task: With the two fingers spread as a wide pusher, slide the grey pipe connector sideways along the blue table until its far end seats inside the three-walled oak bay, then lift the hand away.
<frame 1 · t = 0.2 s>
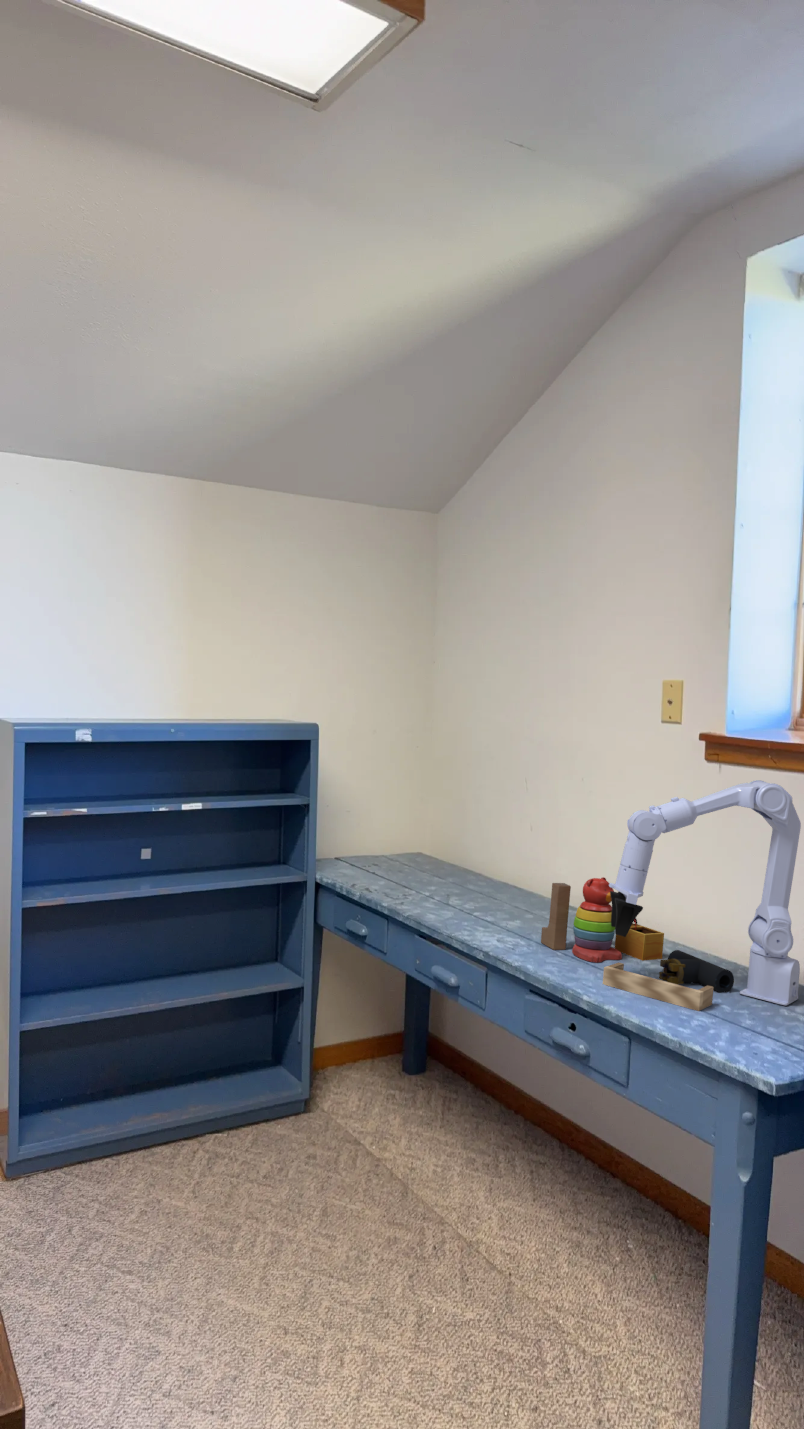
hand: (618, 931, 196), 11 cm above the table, tool pointing down, fingers open, 7 cm apart
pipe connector: (686, 984, 200), on the table
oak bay: (656, 994, 190), on the table
wooden block: (552, 947, 222), on the table
stacking bear: (592, 956, 217), on the table
spider toy trap: (629, 952, 224), on the table
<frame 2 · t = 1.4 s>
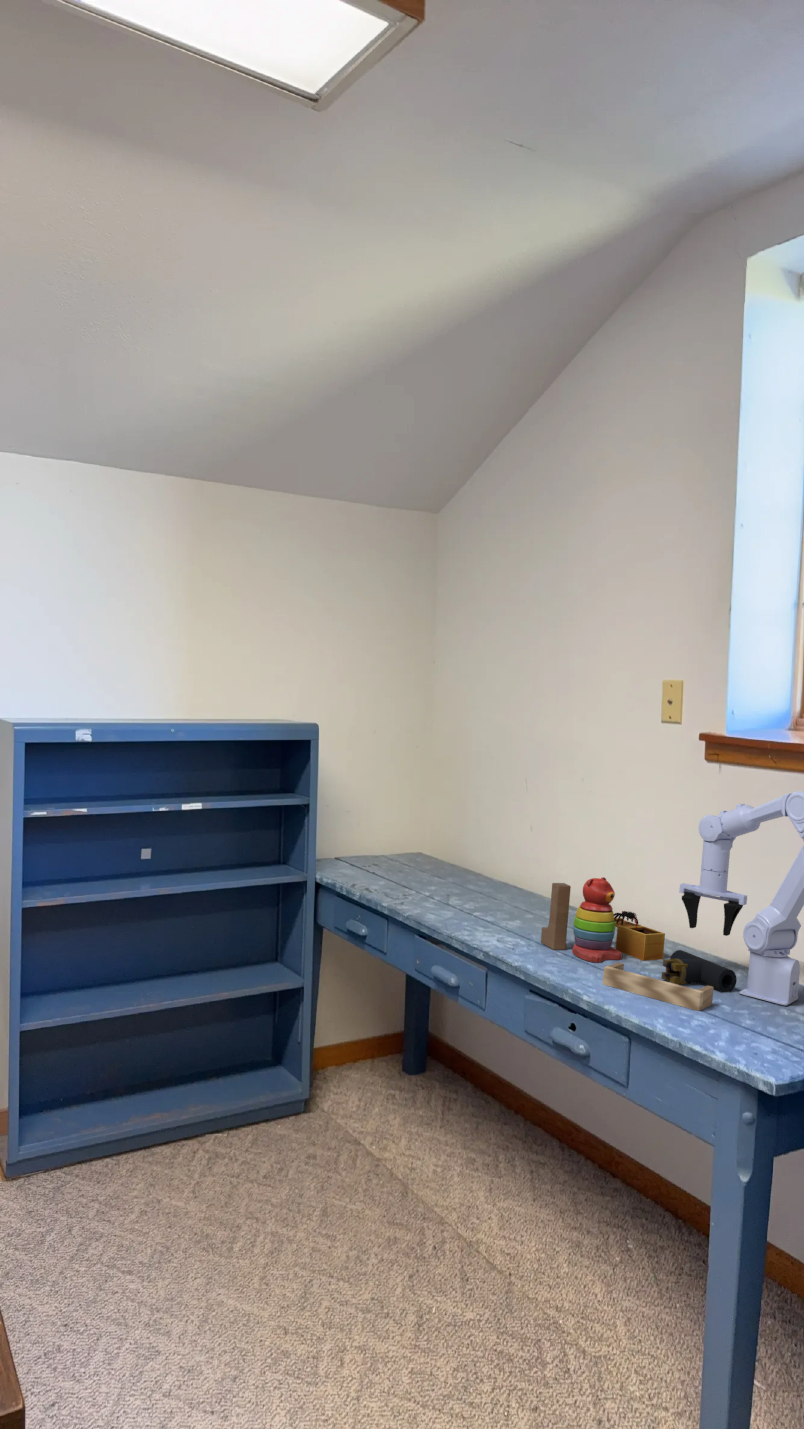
hand: (709, 931, 209), 9 cm above the table, tool pointing down, fingers open, 7 cm apart
nothing on the table moved.
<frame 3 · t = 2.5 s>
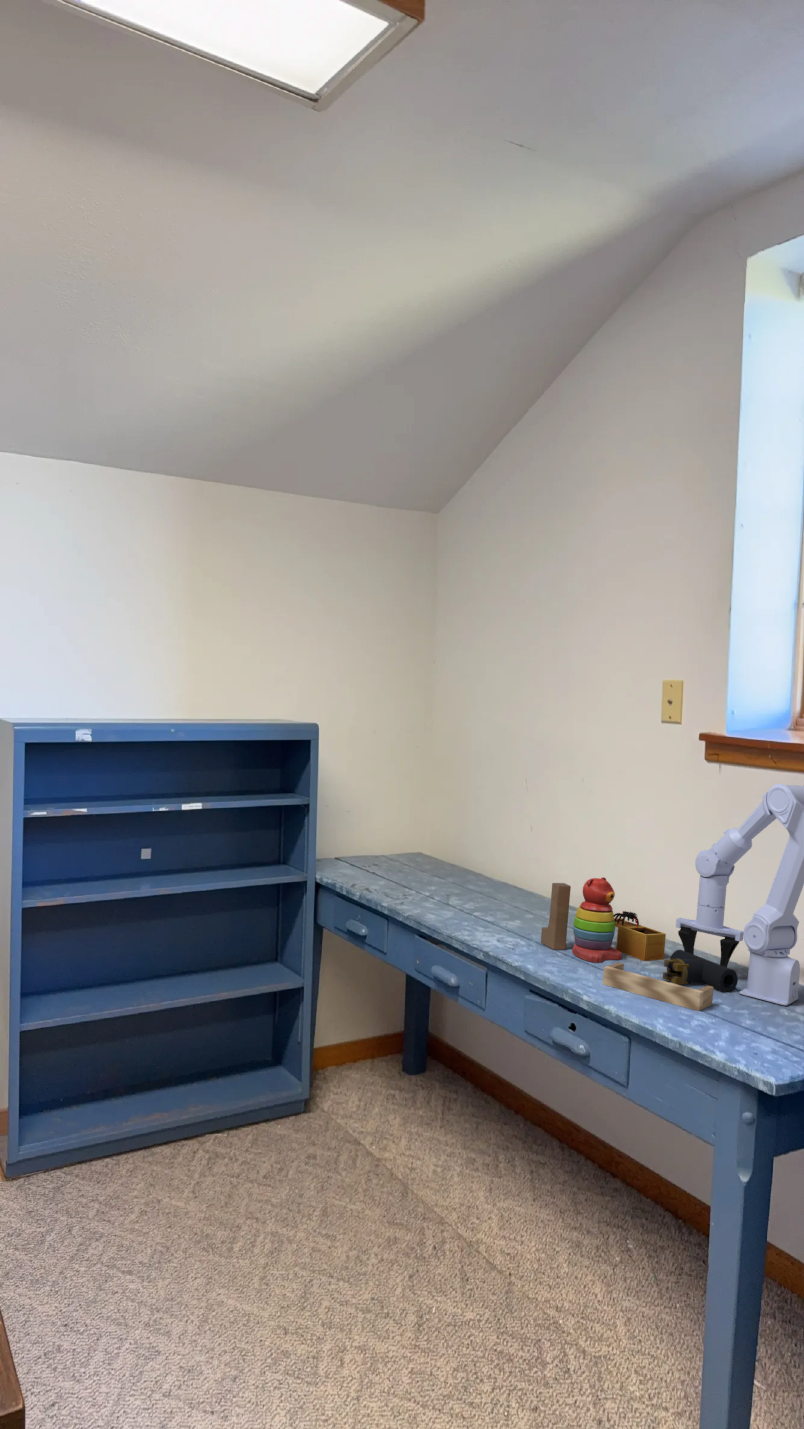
hand: (705, 966, 208), 2 cm above the table, tool pointing down, fingers open, 7 cm apart
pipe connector: (689, 984, 201), on the table, touching gripper
everything else where it was.
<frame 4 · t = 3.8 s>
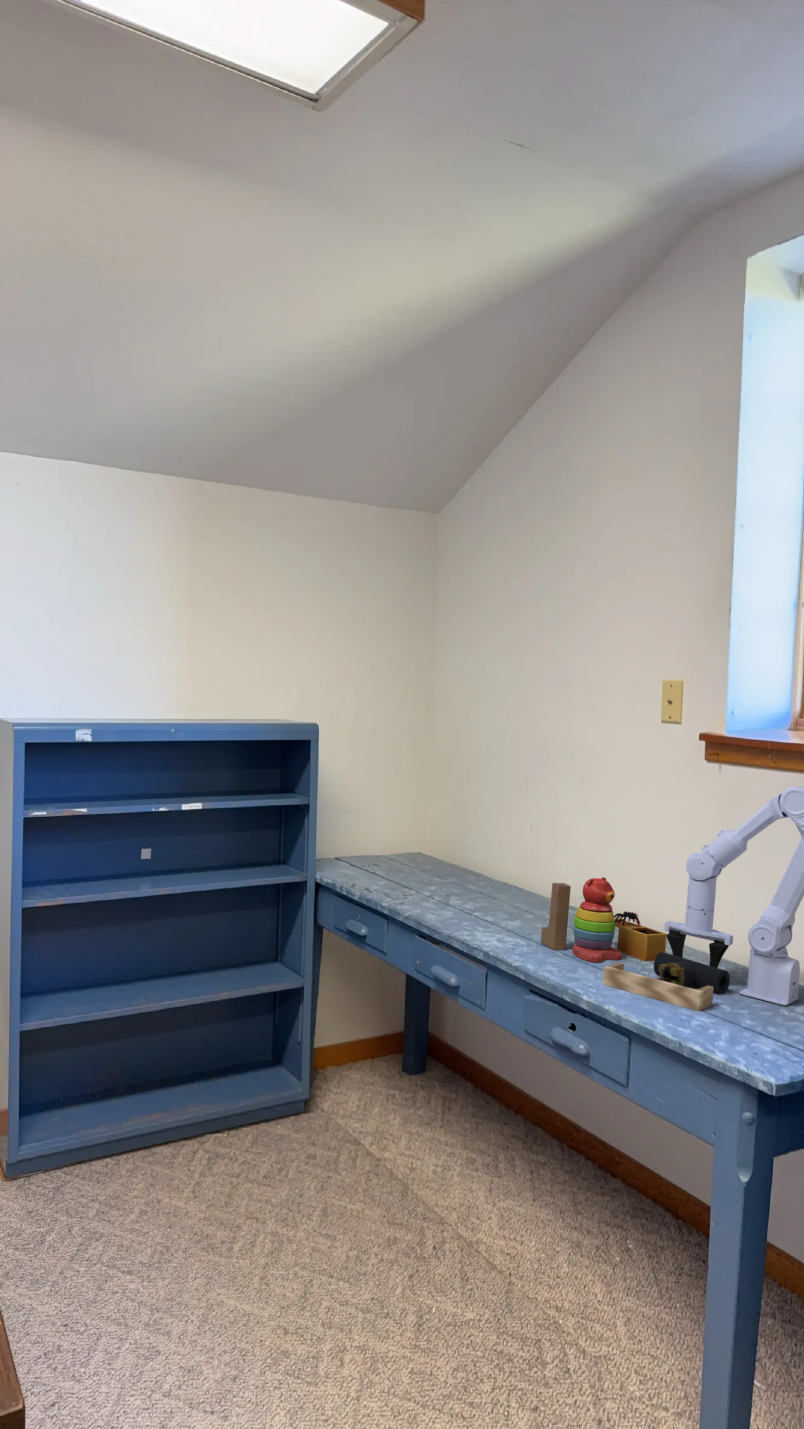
hand: (694, 971, 204), 2 cm above the table, tool pointing down, fingers open, 7 cm apart
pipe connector: (681, 987, 197), on the table, touching gripper
everything else where it was.
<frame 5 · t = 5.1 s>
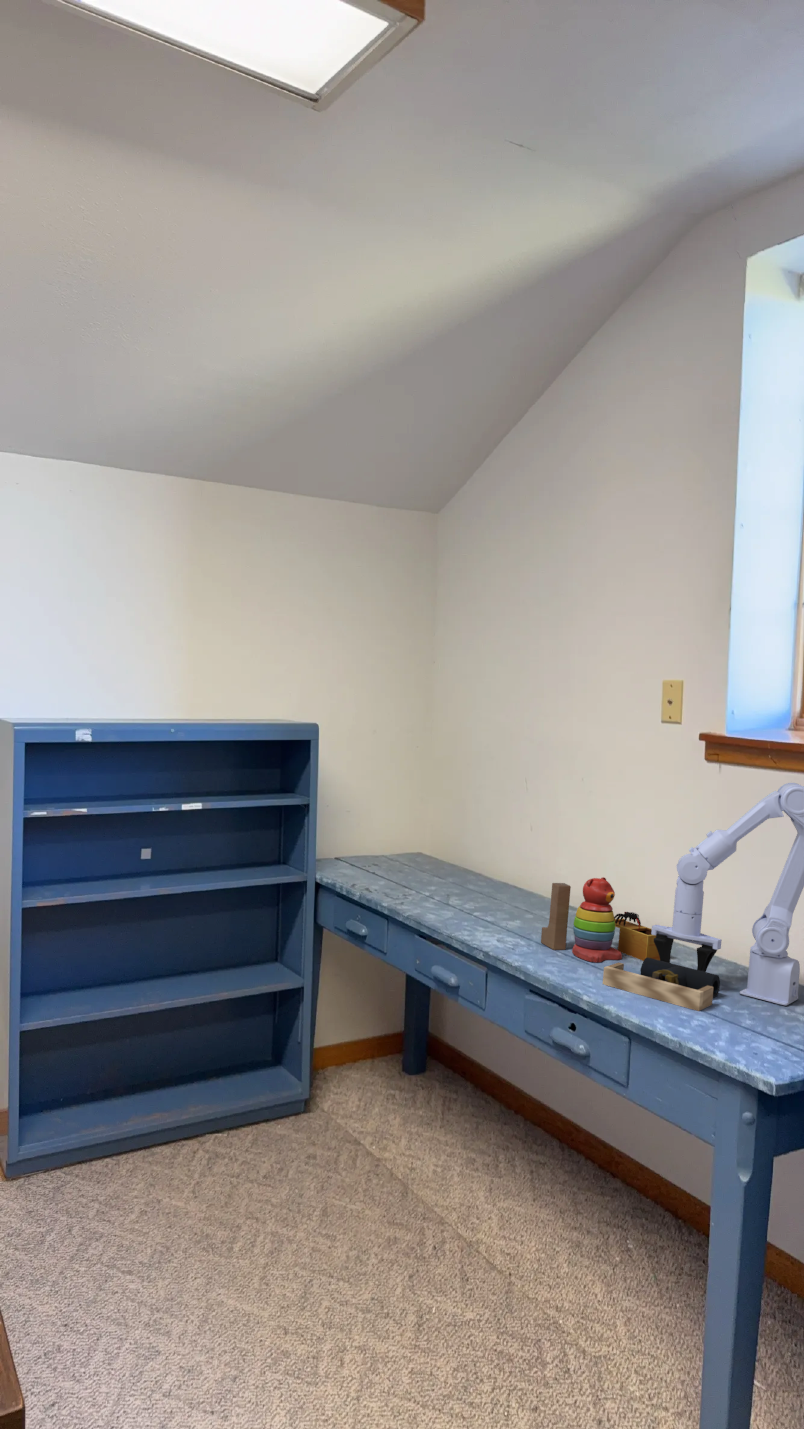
hand: (682, 975, 199), 2 cm above the table, tool pointing down, fingers open, 7 cm apart
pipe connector: (671, 994, 193), on the table
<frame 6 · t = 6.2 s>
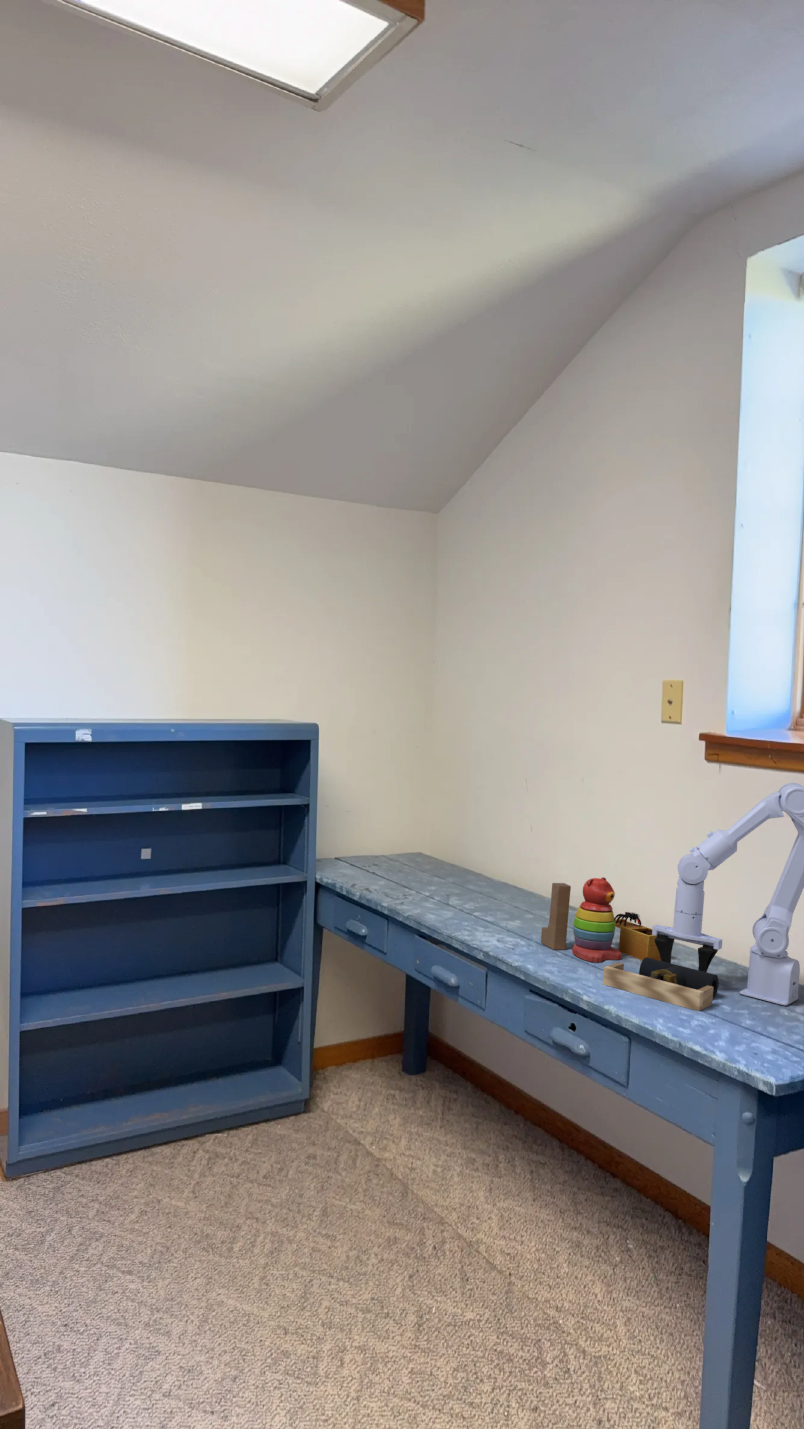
hand: (683, 976, 199), 2 cm above the table, tool pointing down, fingers open, 7 cm apart
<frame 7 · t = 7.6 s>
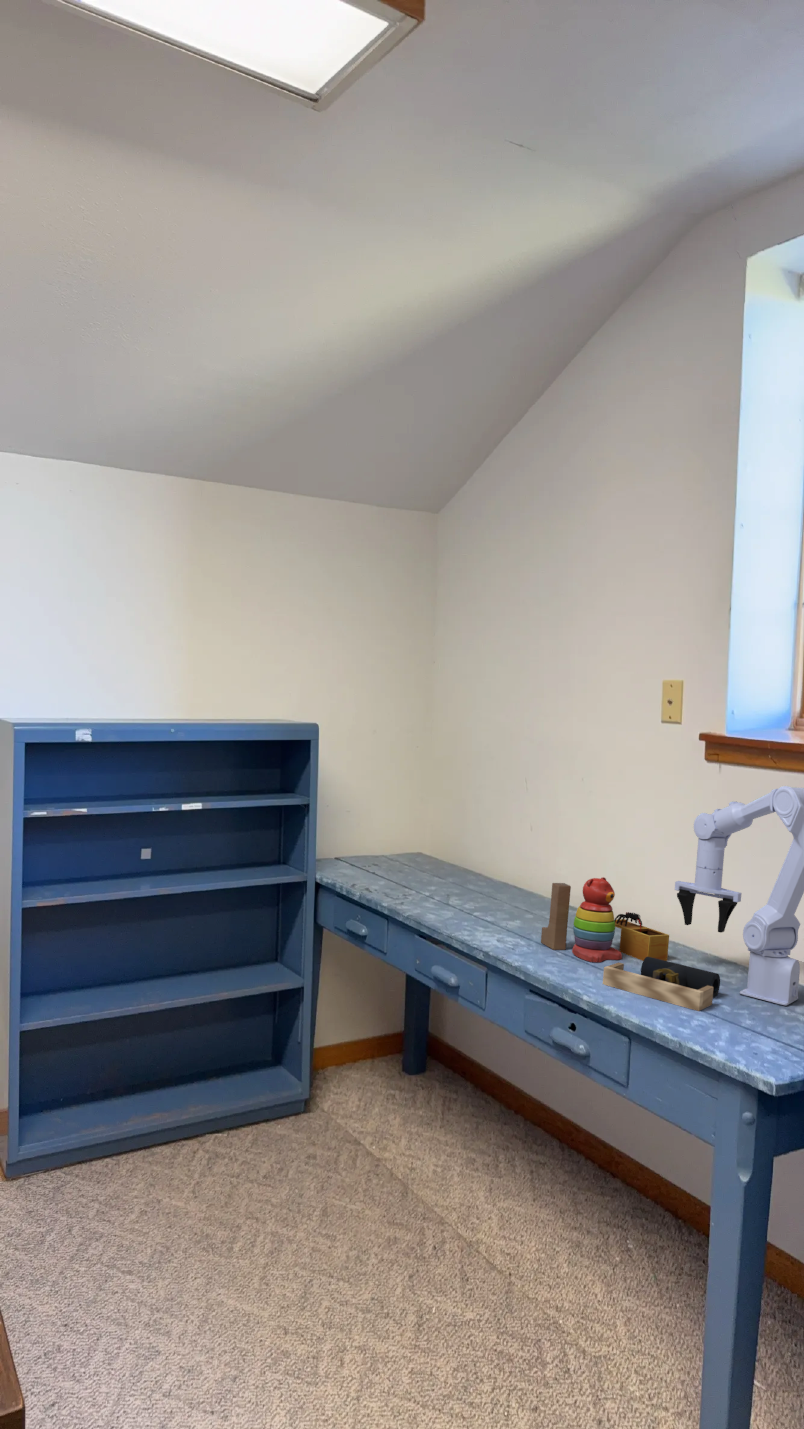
hand: (704, 928, 211), 9 cm above the table, tool pointing down, fingers open, 7 cm apart
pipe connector: (672, 992, 193), on the table
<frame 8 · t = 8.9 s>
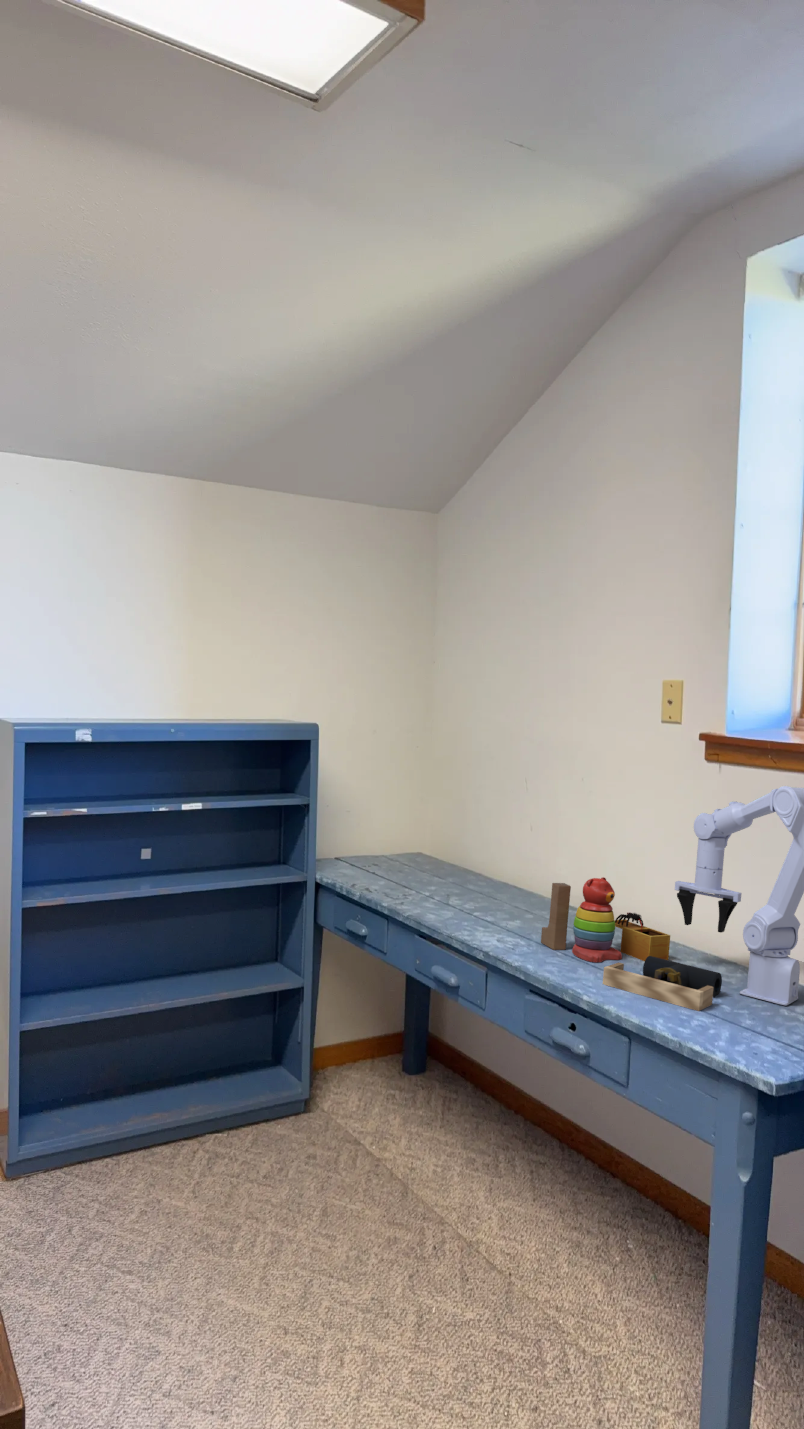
hand: (704, 928, 211), 9 cm above the table, tool pointing down, fingers open, 7 cm apart
at the end: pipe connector inside the target area (2.1 cm from its centre), on the table; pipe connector moved 7.7 cm from its start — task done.
